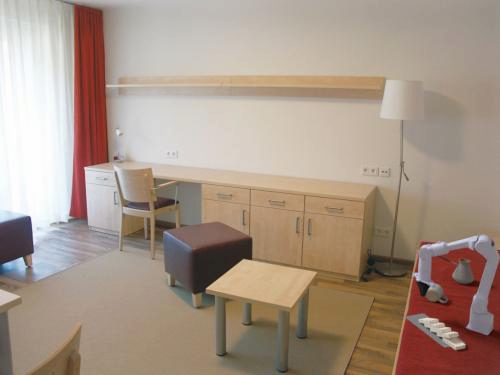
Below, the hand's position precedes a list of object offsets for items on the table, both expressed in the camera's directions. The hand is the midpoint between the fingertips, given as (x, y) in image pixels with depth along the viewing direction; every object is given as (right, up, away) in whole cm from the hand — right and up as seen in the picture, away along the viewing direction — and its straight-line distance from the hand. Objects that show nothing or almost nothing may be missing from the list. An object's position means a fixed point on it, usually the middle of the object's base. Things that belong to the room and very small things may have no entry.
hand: (422, 295), depth 211 cm
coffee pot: (+34, -1, +41) cm, 53 cm away
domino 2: (-1, -11, -8) cm, 14 cm away
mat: (0, -13, -11) cm, 17 cm away
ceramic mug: (+14, -7, +18) cm, 24 cm away
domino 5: (+3, -14, -20) cm, 24 cm away
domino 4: (+2, -13, -16) cm, 21 cm away
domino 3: (0, -12, -12) cm, 17 cm away
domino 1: (-2, -11, -5) cm, 12 cm away
